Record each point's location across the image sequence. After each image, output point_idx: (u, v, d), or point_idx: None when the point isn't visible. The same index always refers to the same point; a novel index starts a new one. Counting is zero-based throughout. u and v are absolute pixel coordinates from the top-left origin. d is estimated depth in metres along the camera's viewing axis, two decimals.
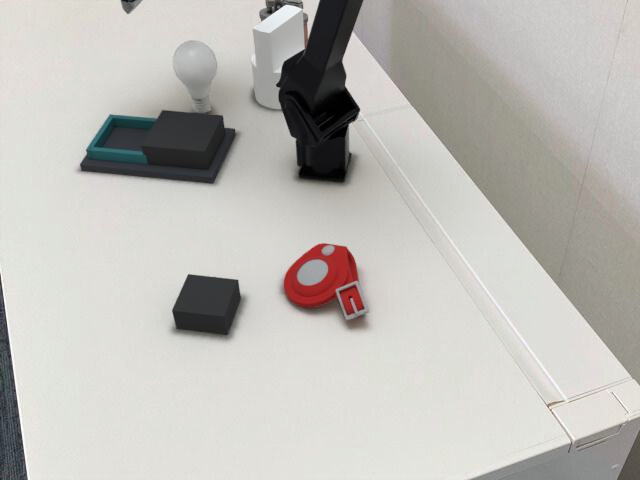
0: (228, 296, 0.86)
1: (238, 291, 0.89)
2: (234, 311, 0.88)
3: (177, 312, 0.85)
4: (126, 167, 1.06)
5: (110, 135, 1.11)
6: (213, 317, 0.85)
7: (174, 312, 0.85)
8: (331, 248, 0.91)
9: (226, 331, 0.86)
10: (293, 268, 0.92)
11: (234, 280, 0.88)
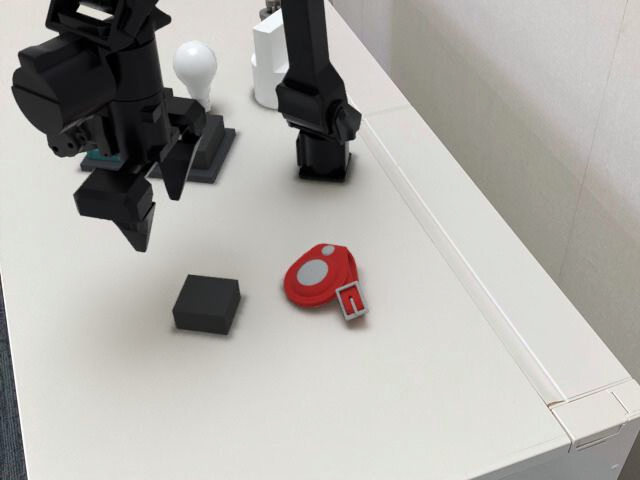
0: (228, 296, 0.86)
1: (238, 291, 0.89)
2: (234, 311, 0.88)
3: (177, 312, 0.85)
4: None
5: None
6: (213, 317, 0.85)
7: (174, 312, 0.85)
8: (331, 248, 0.91)
9: (226, 331, 0.86)
10: (293, 268, 0.92)
11: (234, 280, 0.88)
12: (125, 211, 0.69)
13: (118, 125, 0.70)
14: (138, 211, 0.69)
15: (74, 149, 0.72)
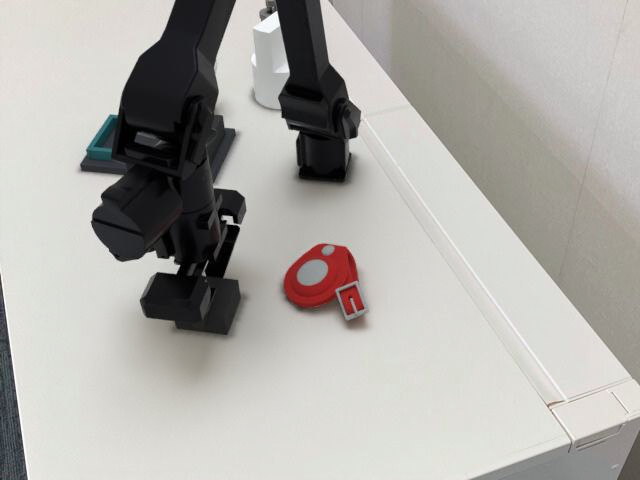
0: (228, 296, 0.86)
1: (238, 291, 0.89)
2: (234, 311, 0.88)
3: None
4: None
5: (110, 135, 1.11)
6: (213, 317, 0.85)
7: None
8: (331, 248, 0.91)
9: (226, 331, 0.86)
10: (293, 268, 0.92)
11: (234, 280, 0.88)
12: (189, 314, 0.75)
13: (176, 233, 0.77)
14: (201, 312, 0.76)
15: None
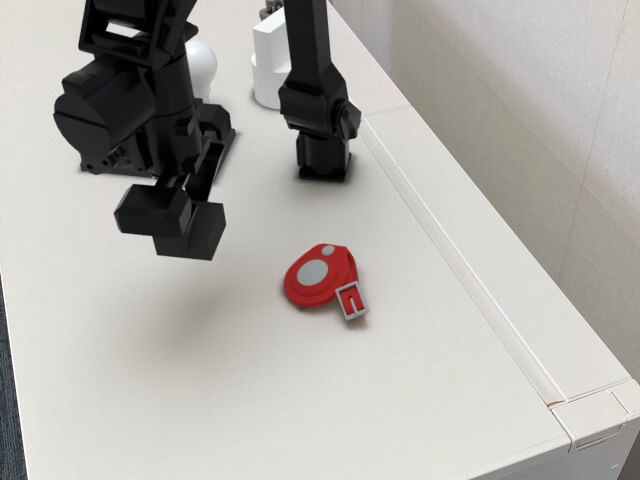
0: (212, 220, 0.80)
1: (223, 215, 0.83)
2: (219, 237, 0.82)
3: None
4: (126, 167, 1.06)
5: None
6: (195, 240, 0.79)
7: (153, 236, 0.79)
8: (331, 248, 0.91)
9: (210, 256, 0.80)
10: (293, 268, 0.92)
11: (219, 203, 0.82)
12: (168, 226, 0.69)
13: (153, 140, 0.70)
14: (180, 225, 0.70)
15: (109, 166, 0.72)
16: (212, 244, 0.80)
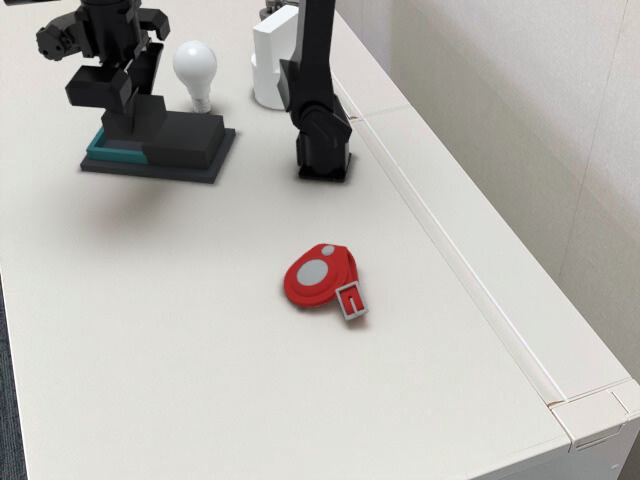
0: (153, 107, 0.94)
1: (164, 107, 0.96)
2: (160, 124, 0.96)
3: (105, 120, 0.93)
4: (126, 167, 1.06)
5: None
6: (138, 123, 0.92)
7: (102, 120, 0.93)
8: (331, 248, 0.91)
9: (152, 138, 0.94)
10: (293, 268, 0.92)
11: (159, 96, 0.96)
12: (110, 98, 0.83)
13: (97, 27, 0.84)
14: (121, 97, 0.83)
15: (61, 51, 0.85)
16: (153, 128, 0.94)
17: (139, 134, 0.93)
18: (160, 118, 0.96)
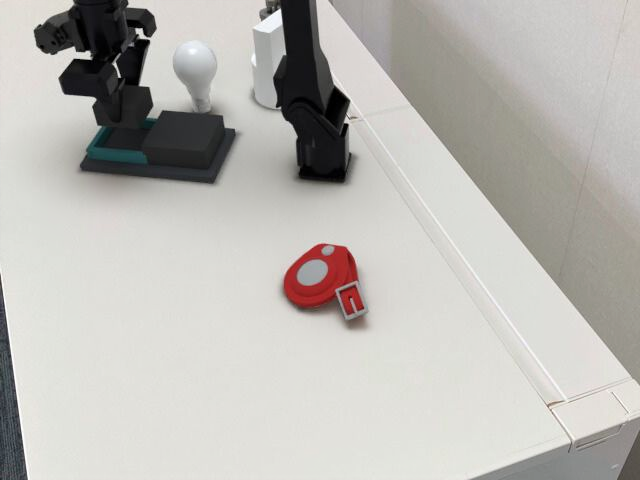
0: (140, 97, 1.04)
1: (150, 97, 1.07)
2: (146, 113, 1.06)
3: (96, 108, 1.03)
4: (126, 167, 1.06)
5: (110, 135, 1.11)
6: (125, 111, 1.02)
7: (93, 108, 1.03)
8: (331, 248, 0.91)
9: (138, 125, 1.04)
10: (293, 268, 0.92)
11: (146, 87, 1.06)
12: (98, 87, 0.93)
13: (88, 25, 0.94)
14: (108, 87, 0.94)
15: (56, 46, 0.95)
16: (139, 116, 1.04)
17: (126, 121, 1.04)
18: (146, 107, 1.06)
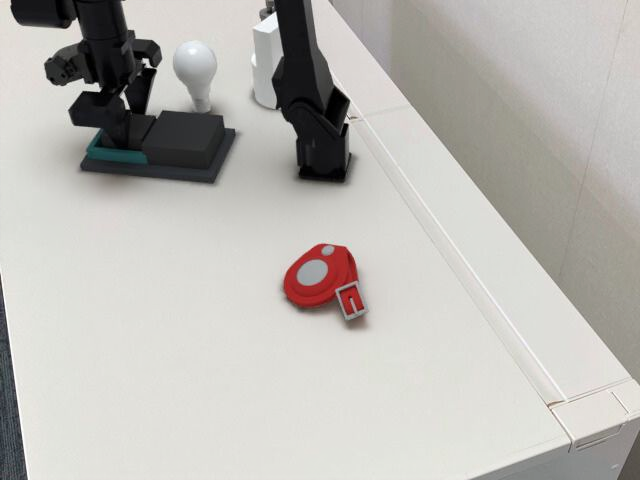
0: (146, 126, 1.07)
1: None
2: None
3: (104, 137, 1.06)
4: (126, 167, 1.06)
5: None
6: (132, 140, 1.06)
7: (101, 137, 1.06)
8: (331, 248, 0.91)
9: None
10: (293, 268, 0.92)
11: (152, 116, 1.09)
12: (106, 119, 0.96)
13: (97, 58, 0.98)
14: (116, 119, 0.97)
15: (66, 78, 0.99)
16: None
17: (133, 149, 1.07)
18: None
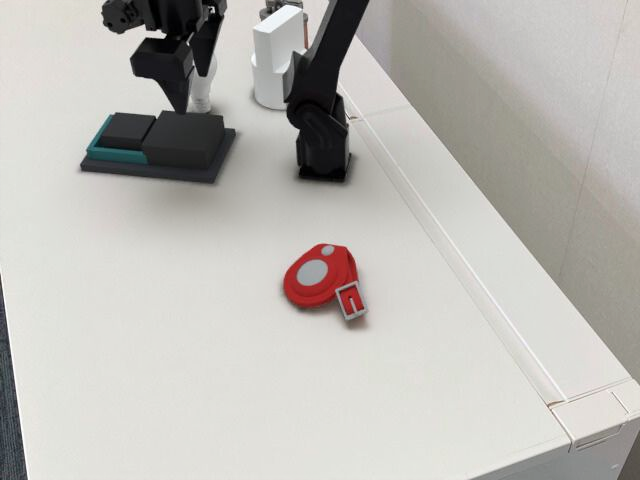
0: (146, 126, 1.07)
1: None
2: None
3: (104, 137, 1.06)
4: (126, 167, 1.06)
5: None
6: (132, 140, 1.06)
7: (101, 137, 1.06)
8: (331, 248, 0.91)
9: None
10: (293, 268, 0.92)
11: (152, 116, 1.09)
12: (174, 69, 0.85)
13: (162, 0, 0.86)
14: (184, 69, 0.86)
15: (126, 23, 0.87)
16: None
17: (133, 149, 1.07)
18: None
